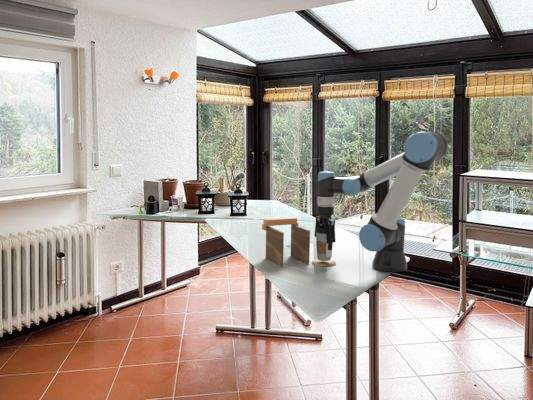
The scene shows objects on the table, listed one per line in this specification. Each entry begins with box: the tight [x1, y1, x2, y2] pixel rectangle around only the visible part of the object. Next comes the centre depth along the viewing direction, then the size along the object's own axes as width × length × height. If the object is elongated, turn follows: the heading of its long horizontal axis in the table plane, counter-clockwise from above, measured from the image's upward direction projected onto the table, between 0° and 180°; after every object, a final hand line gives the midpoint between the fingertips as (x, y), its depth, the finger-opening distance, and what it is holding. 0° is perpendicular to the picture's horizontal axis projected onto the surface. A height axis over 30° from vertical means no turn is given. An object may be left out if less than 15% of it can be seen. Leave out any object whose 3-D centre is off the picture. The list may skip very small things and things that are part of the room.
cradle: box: [265, 224, 311, 268], centre depth 235 cm, size 14×17×16 cm
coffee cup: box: [315, 226, 334, 261], centre depth 231 cm, size 8×8×15 cm
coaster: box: [311, 259, 337, 268], centre depth 232 cm, size 11×11×1 cm
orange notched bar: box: [261, 216, 299, 231], centre depth 241 cm, size 18×3×5 cm, turn 113°
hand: (324, 254), depth 231 cm, fingers closed on coffee cup, 7 cm apart
